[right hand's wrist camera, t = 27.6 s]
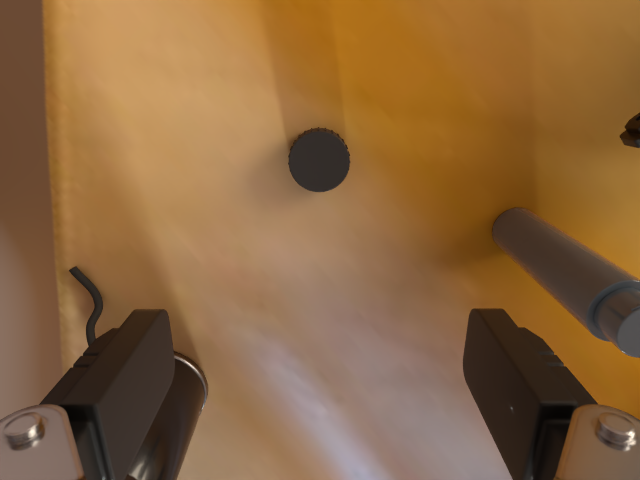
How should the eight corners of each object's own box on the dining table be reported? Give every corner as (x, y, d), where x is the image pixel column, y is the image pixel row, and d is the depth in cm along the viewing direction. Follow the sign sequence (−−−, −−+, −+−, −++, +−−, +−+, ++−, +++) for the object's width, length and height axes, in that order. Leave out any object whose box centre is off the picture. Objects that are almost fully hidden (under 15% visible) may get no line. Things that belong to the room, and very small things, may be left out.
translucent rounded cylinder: (545, 235, 40) (698, 341, 24) (503, 258, 41) (624, 375, 25) (526, 198, 39) (674, 284, 23) (484, 223, 40) (597, 323, 23)
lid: (288, 127, 37) (286, 131, 34) (348, 126, 36) (350, 129, 34) (291, 186, 38) (289, 193, 36) (348, 185, 38) (350, 192, 36)
